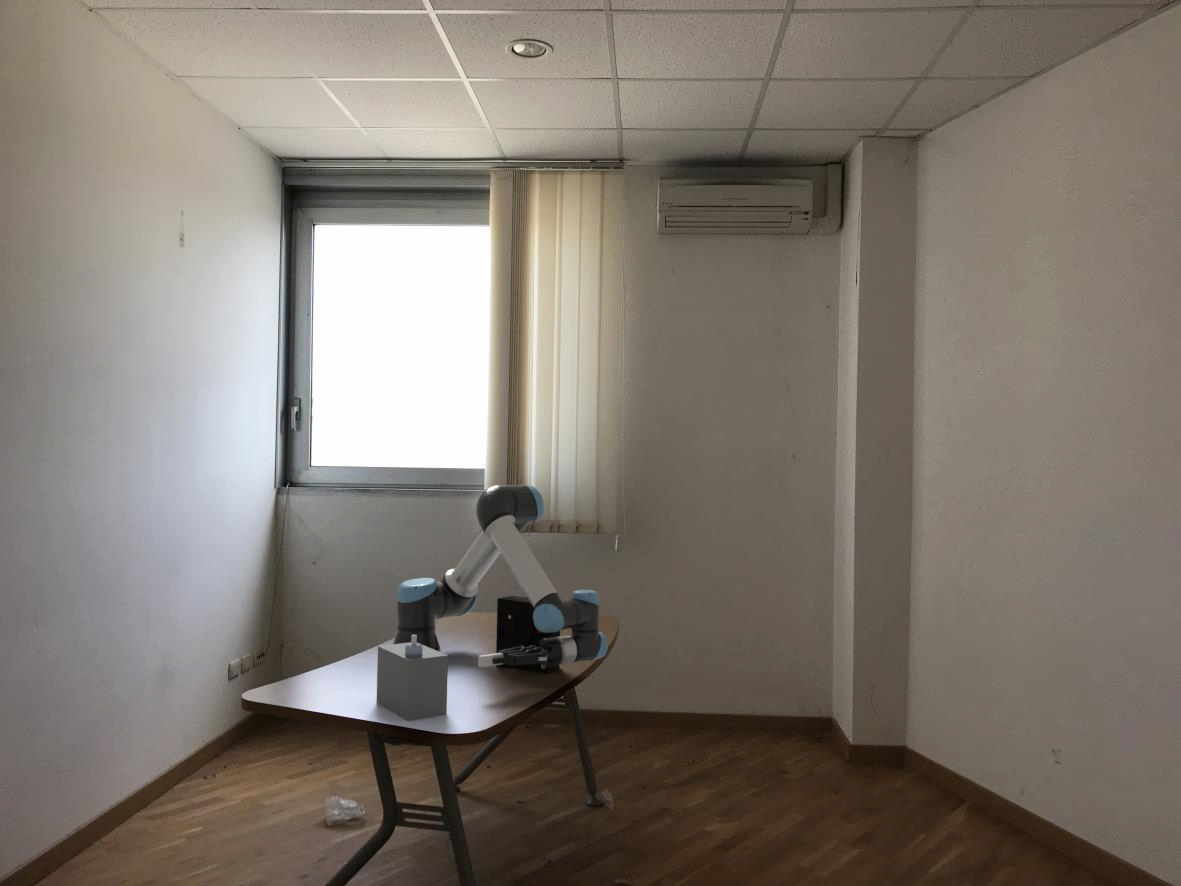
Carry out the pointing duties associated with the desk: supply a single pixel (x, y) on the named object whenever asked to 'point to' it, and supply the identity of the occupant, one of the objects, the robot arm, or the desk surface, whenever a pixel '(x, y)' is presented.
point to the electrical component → (519, 630)
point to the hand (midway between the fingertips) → (479, 661)
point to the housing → (412, 682)
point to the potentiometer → (413, 648)
